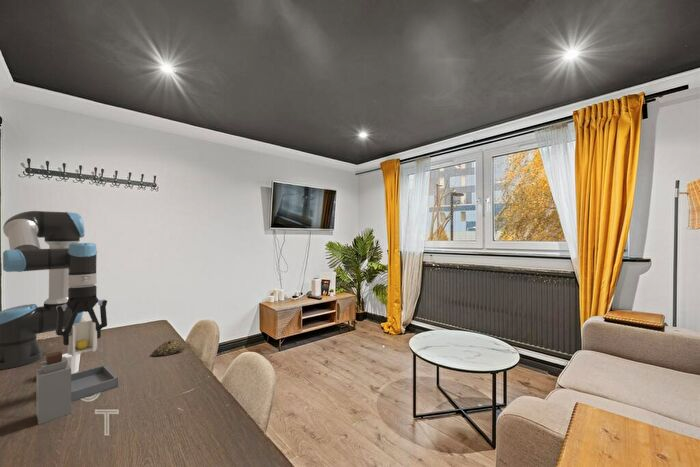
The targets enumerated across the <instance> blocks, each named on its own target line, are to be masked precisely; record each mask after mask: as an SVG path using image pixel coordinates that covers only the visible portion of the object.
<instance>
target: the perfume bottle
mask: <svg viewBox="0 0 700 467" xmlns="http://www.w3.org/2000/svg"><path fill="white" fill-rule="evenodd" d="M62 354H63V353H62V351H60V350H59V351H56V352H52V353H46V354H45V359H46V360H44V361H40V366H41V368H40V369H39V368H38V369H36V385H35V387H36V388H35V390H36V392H35V393H36V396H35V397H36V398H35V402H36V403H35V404H36V405H35V413H36V414H35V416H36V419H37V424H38V425H42V424H45V423H48V422H51V421H54V420H56V419H60V418H62V417H66V416H67V415H71V414H72V402H71V367H70V366H69V364H68V363H67V362H68V360H67V359H66V357H62Z"/></svg>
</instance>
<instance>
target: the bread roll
mask: <svg viewBox="0 0 700 467" xmlns="http://www.w3.org/2000/svg"><path fill="white" fill-rule="evenodd" d="M184 350H185V346H184V343H182V342H181V340H177V339H172V340H171V339H170V340H168V341H164V342H162V344H160V345H158V347H157V348H156V349H154V350H153V352H152V355H151V356H153V357H162V356H170V355H176V354H179V353H182V352H183V351H184ZM175 353H176V354H175Z"/></svg>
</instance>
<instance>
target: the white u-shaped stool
mask: <svg viewBox="0 0 700 467" xmlns="http://www.w3.org/2000/svg"><path fill="white" fill-rule="evenodd" d="M69 334H71V335H72V354H71V355H72V356H75V354H79V353H81V354H82V353H86V352H91V351H92V352H93V353H94V352H96V351H97V349H96V323H95V322H93V321H92V319H91V320H86V321H81V322H80V323H74V324H73V326H72V328H71V331H70V333H69ZM80 340H87V341H88V346H87V347H86V348H84V349H78V348H77V347H76V345H77V343H78V342H79V341H80Z"/></svg>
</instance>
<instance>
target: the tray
mask: <svg viewBox="0 0 700 467" xmlns="http://www.w3.org/2000/svg"><path fill="white" fill-rule="evenodd" d="M118 387H119V378H118V376H117V375H116V374H115V373H114V372H113V371H112V370H111V369H110V368H109V367H108V366H107V365H106V364H104V365H99V366H95V367H92V368H88V369H84V370H81V371H78V372H76V373H73V374H71V403H72V402H74V401H77V400H81V399H83V398H87V397H90V396H93V395H96V394H100V393H102V392H105V391H108V390H112V389H114V388H115V389H116V388H118Z"/></svg>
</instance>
